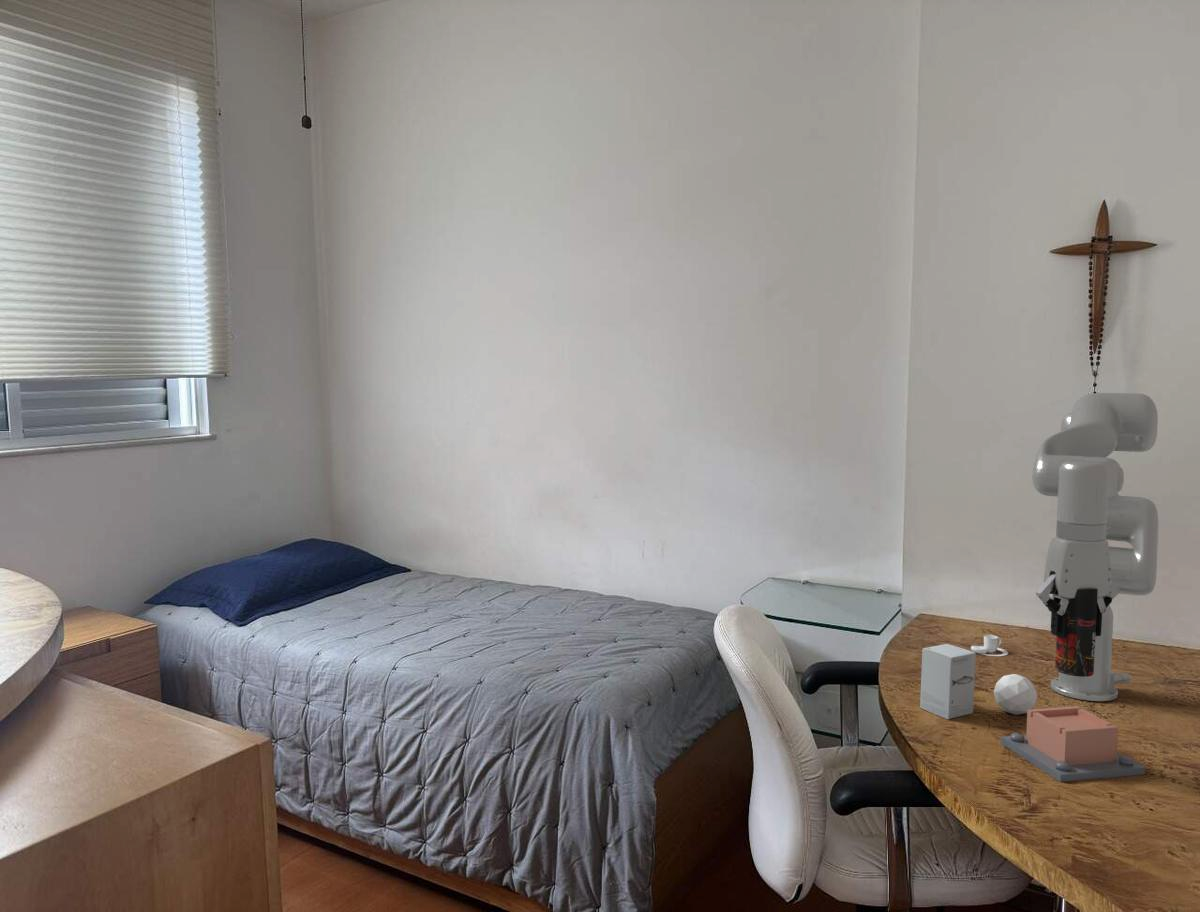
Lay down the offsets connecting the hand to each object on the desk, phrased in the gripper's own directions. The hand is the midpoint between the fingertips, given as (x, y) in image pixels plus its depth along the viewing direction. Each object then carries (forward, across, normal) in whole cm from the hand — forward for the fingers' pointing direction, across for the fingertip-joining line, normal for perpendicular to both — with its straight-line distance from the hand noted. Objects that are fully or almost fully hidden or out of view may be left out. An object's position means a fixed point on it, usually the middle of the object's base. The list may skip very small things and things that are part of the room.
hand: (1075, 633), depth 154 cm
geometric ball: (+22, -4, -21) cm, 31 cm away
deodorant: (+7, 0, 0) cm, 7 cm away
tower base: (+22, 0, 0) cm, 22 cm away
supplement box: (+23, +9, -24) cm, 34 cm away
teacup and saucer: (+23, -22, -61) cm, 68 cm away
